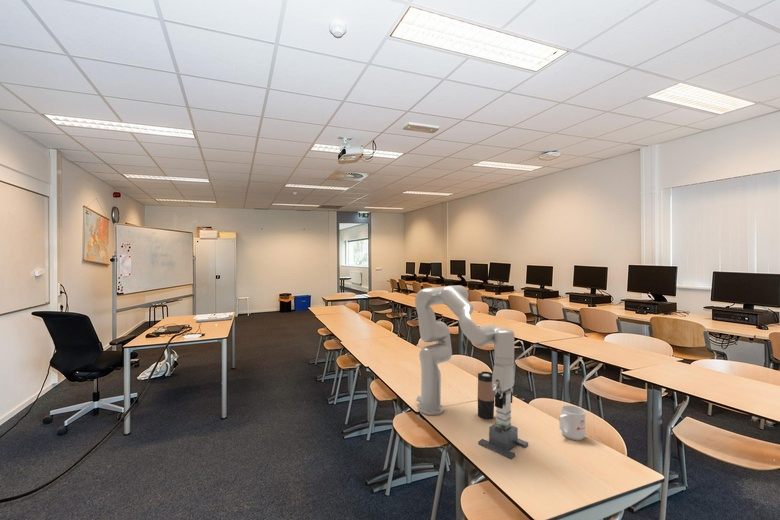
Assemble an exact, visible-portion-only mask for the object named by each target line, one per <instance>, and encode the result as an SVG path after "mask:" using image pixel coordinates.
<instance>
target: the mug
mask: <svg viewBox="0 0 780 520" xmlns="http://www.w3.org/2000/svg"><path fill="white" fill-rule="evenodd" d="M558 417H559V418H558V419H559V420H558V421H559V422H558V423H559V425H558V426H559V430H560V431H561V433H562V434H563V436H565V437H566V438H567V439H568V440H569V439H570V440H573V441H582V440H583V439H584V438H586V410H585V409H583V407H579V406H576V405H571V404H570V405H569V404H566V405H565V404H564V405H562V406H561V415H559V416H558Z"/></svg>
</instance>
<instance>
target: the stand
mask: <svg viewBox="0 0 780 520" xmlns="http://www.w3.org/2000/svg"><path fill="white" fill-rule="evenodd" d="M518 432H519V431H518V427H517V426H514V425H512V424H511V429H509V430H508V431H506V432H505V431H503V430H501V429H499V428H496V422H495V423H494V424H492V425H490V426H488V440H487V439H484V438H481V439H479V441H478V445H479V446H481V447H484V448H485V449H487V450H490V451H492V452H494V453H497V454H498V455H501V456H503V457H505V458H507V459H509V460H513V459H514V458H515V457H516V452H513V451H512V450H514V449H515V448H516V447H517V446H518V447H521V448H523V449H526V448H527V447H528V446H529V442H528V441H526V440H523V439H521V438H519V436H518Z"/></svg>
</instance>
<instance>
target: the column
mask: <svg viewBox="0 0 780 520" xmlns="http://www.w3.org/2000/svg"><path fill="white" fill-rule="evenodd" d="M498 389H499V390H501V388H498ZM498 393H499V394H500V391H498ZM502 398H503V408H502V409H500V408H498V407H496V410H495V412H496V415H495V419H496V420H495V421H496V422H495V423H496V428H499V429H501V430H503V431H505V432H506V431H508V430H509V429H511V425H512V421H511V420H512V416H511V415H512V403H511V390H508V389H507V390H506V391H503V395H502Z"/></svg>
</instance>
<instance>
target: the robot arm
mask: <svg viewBox="0 0 780 520" xmlns="http://www.w3.org/2000/svg"><path fill="white" fill-rule="evenodd" d="M468 298H469V292H468V290H467V288H466V287H465V286H463V285H460V284H459V285H455V284H454V285H447V286H438V287H424V288H422V289H420V290H419V291H417V293H416V295H415V298H414V304H415V308H416V313H417V319H418V321H417V322H418V328H419V329H418V330H419V335H420V339H421V341H422V342H423V343H434V342H435V343H434V344H428V345H426V346H424V347H422V348H421V350H419V355H418V356H419V361H420V370H421V372H420V379H421V381H420V382H421V385H420V389H421V390H420V392H421V393H420V395H417V397H416V398H415V401H416V402H418V406H417V410H418V412H420V413H422V414H424V415H426V416H427V415H428V416H439V415H440V414H442V413H444V410H445V409H444V405H442V404H441V403H442V402H441V397H442V395H441V394H442V392H441V390H442V389H441V387H442V382H441V381H442V374H441V370H440V368H439V366H438V365H439V364H443V363H446V362H448V361H450V360H451V359H452V355H453V350H452V349H453V347H452V341H451V333H450V329H449V327H448V325H447V324H446V323H445V322H443V321H440V320H439V321H437V320H436V319H437V318H436V313H435V311H434V309H433V308H432V306H433V305H434V306H436V305H444V304H445V305H446V307H448V308H449V310H450V311H451V312H452V313H453V314H454V315H455V316H456V317H457V318H458V325H459V327H460V330H461V332H462V333H463V335H464V336H465V337H466V338H467V339H468V340H469V341H470V342H471V343H472V344H473V345H475V346H477V347H483V346H484V347H485V346H488V345H493V344H494V349H493V350H494V352H493V353H494V357H493V358H494V360H493V362H494V364H493V367H492V368H493V369H492V373H493V375H492V388H493V389H492V391H493V394H494V408H497V407H498V408H500V409H502V408H503V398H502V395H503V391H506V390H507V389H508V390H511V404H512V403H513V393H514V390H513V389H514V387H515V386H514V385H515V382H516V381H515V369H514V368H515V367H514V366H515V333H514V331H513V330H512V329H509V328H502V327H499V326H497V325H494V324H493V325H491V324H490V325H484V326H478V325H477V324H476V322H475V321H474V320H473V319H472V318H471V314H473V311H474V305H473V304H472V303H471V302H470V301H469V300H468ZM500 388H501V390H499V389H500ZM498 391H500V394H499V393H498Z"/></svg>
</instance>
